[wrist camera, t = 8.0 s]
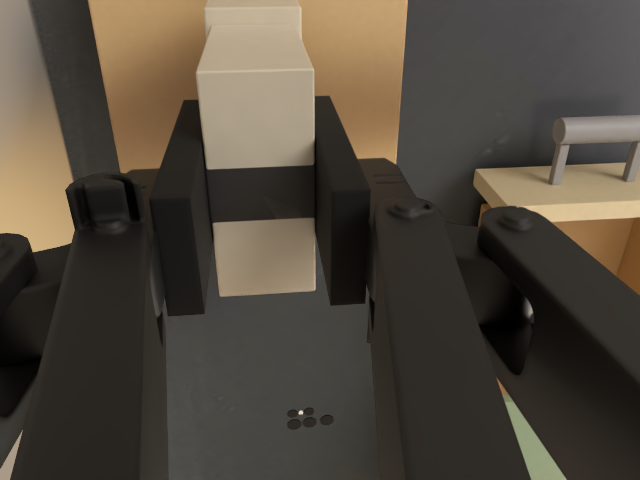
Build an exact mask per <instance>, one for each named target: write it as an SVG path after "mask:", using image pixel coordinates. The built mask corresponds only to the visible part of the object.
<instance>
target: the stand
mask: <svg viewBox="0 0 640 480" xmlns="http://www.w3.org/2000/svg"><path fill="white" fill-rule="evenodd" d="M207 1H208V0H88V3H89V9H90V14H91V19H92V24H93V30H94V35H95V40H96V46H97V51H98V56H99V61H100V67H101V72H102V77H103V82H104V88H105V93H106V98H107V104H108V109H109V114H110V119H111V125H112V130H113V135H114V140H115V146H116V151H117V156H118V162H119V167H120V172H121V173H127V172H129V171H130V170H132V169H156V168H160V165H161V163H162V160H163V157H164V154H165V151H166V148H167V146H168V143H169V140H170V137H171V134H172V131H173V129H174V126H175V123H176V120H177V117H178V114H179V112H180V109H181V106H182V103H183V100H198V91H197V81H196V71H197V68H198V65H199V62H200V59H201V56H202V53H203V50H204V47H205V44H206V33H205V23H204V12H203V9H204V7H205V5H206V3H207ZM297 1H298V3H299V5H300V6H301V18H302V42H303V45H304V47H305V49H306V52H307V54H308V57H309V59H310V61H311V64H312V66H313V68H314V96H330V98H331V100H332V102H333V104H334V107H335V109H336V111H337V114H338V116H339V118H340V120H341V123H342V125H343V127H344V129H345V132H346V134H347V136H348V138H349V141H350V143H351V145H352V148H353V150H354V152H355V154H356V157H357V159H364V158H386V159H388V160H389V161H391V162H393V163H394V164H396V157H397V143H398V130H399V116H400V102H401V88H402V74H403V60H404V47H405V33H406V19H407V5H408V0H297Z"/></svg>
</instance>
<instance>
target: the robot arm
mask: <svg viewBox="0 0 640 480" xmlns="http://www.w3.org/2000/svg"><path fill="white" fill-rule="evenodd" d="M314 97H315V160H316V219H315V232H316V237H317V242H318V247H319V252H320V257H321V261H322V266H323V271H324V276H325V281H326V286H327V290H328V295H329V300H330V305H331V306H333V305H349V304H364V303H365V298H366V284H367V287H368V290H369V294H370V296H369V315H368V333H367V343H371V355H372V369H373V382H374V396H375V409H376V423H377V436H378V450H379V463H380V477H381V480H531V477H530V475H529V472H528V469H527V466H526V463H525V460H524V457H523V454H522V451H521V448H520V445H519V442H518V439H517V436H516V433H515V430H514V428H513V425H512V422H511V419H510V416H509V413H508V410H507V407H506V404H505V401H504V398H503V395H502V392H501V389H500V386H499V383H498V381H497V378H498V380H499V381H500V383H501V384H502V386H503V387H504V389H505V390H506V392H507V393H508V394H509V396H510V397H511V399H512V400H513V402H514V403H515V405H516V406H517V408H518V409H519V411H520V412H521V414H522V415H523V416H524V418H525V419H526V421H527V422H528V424H529V425H530V427H531V428H532V430H533V431H534V433H535V434H536V435H537V437H538V438H539V440H540V441H541V443H542V444H543V446H544V447H545V449H546V450H547V452H548V453H549V455H550V456H551V457H552V459H553V460H554V462H555V463H556V465H557V466H558V468H559V469H560V471H561V472H562V474H563V475H564V476H565V478H566V479H567V480H640V295H638V294H637V293H636V292H635V291H634V290H632V289H631V288H630V287H629V286H628V285H626V284H625V283H624V282H623V281H622V280H620V279H619V278H618V277H617V276H616V275H614V274H613V273H612V272H611V271H609V270H608V269H607V268H606V267H605V266H603V265H602V264H601V263H600V262H599V261H597V260H596V259H595V258H594V257H593V256H591V255H590V254H589V253H588V252H587V251H585V250H584V249H583V248H582V247H581V246H579V245H578V244H577V243H576V242H575V241H573V240H572V239H571V238H570V237H569V236H567V235H566V234H565V233H564V232H563V231H561V230H560V229H559V228H558V227H556V226H555V225H554V224H553V223H552V222H550V221H549V220H548V219H547V218H545V217H544V216H542V215H540V214H539V213H537V212H534V211H531V210H528V209H527V208H525V207H520V206H519V207H517V206H502V207H495V208H490V209H488V210H486V211H485V212H483V213H482V216H481V219H480V225H479V227H476V226H467V225H459V224H453V223H448V222H444V221H443V219H442V216H441V213H440V211H439V209H438V208H437V207H436V205H434V204H432V203H430V202H429V201H427V200H423V199H419V198H416V196H415V195H414V193H413V191H412V190H411V188H410V186H409V184H408V183H407V182H406V179H405V178H404V176H402V173H401V171H400V169H399V167H398V166H397V165H396V164H394V163H393V162H391V161H389V160H388V159H386V158H364V159H357V157H356V154H355V152H354V150H353V148H352V145H351V143H350V141H349V138H348V136H347V134H346V132H345V129H344V127H343V125H342V123H341V120H340V118H339V116H338V114H337V111H336V109H335V107H334V104H333V102H332V100H331V98H330V96H314ZM204 166H205V156H204V146H203V137H202V128H201V119H200V109H199V100H183V103H182V106H181V109H180V112H179V114H178V117H177V120H176V123H175V126H174V129H173V131H172V134H171V137H170V140H169V143H168V146H167V148H166V151H165V154H164V157H163V160H162V163H161V165H160V168H156V169H132V170H130V171H129V172H127V173H119V172H118V173H101V174H95V175H90V176H87V177H84V178H81V179H78V180H77V181H75V182H73V183H71V184H70V185H69V186H68V187H67V189H66V190H65V191H66V195H67V199H68V203H69V207H70V211H71V215H72V219H73V223H74V228H75V232H74V235H73V239H72V243H70V244H68V245H65V246H60V247H57V248H52V249H47V250H43V251H38V252H32V249H31V246H30V243H29V241H28V238H26V237H24V236H22V235H20V234H11V233H3V234H0V468H1V467H2V465H3V463H4V461H5V460H6V458H7V456H8V454H9V452H10V451H11V449H12V447H13V445H14V444H15V442H16V440H17V439H18V437H19V435H20V433H21V432H22V430H23V432H22V436H21V440H20V444H19V447H18V451H17V455H16V459H15V463H14V467H13V471H12V474H11V478H10V480H168V432H167V384H166V336H165V324H164V318H163V312H162V308H163V303H164V299H165V301H166V307H167V313H168V316H180V315H195V314H205V305H206V296H207V287H208V278H209V269H210V260H211V251H212V242H213V230H212V224H211V223H210V216H209V207H208V197H207V188H206V179H205V170H204ZM532 310H533V313H532ZM496 377H497V378H496Z"/></svg>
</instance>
